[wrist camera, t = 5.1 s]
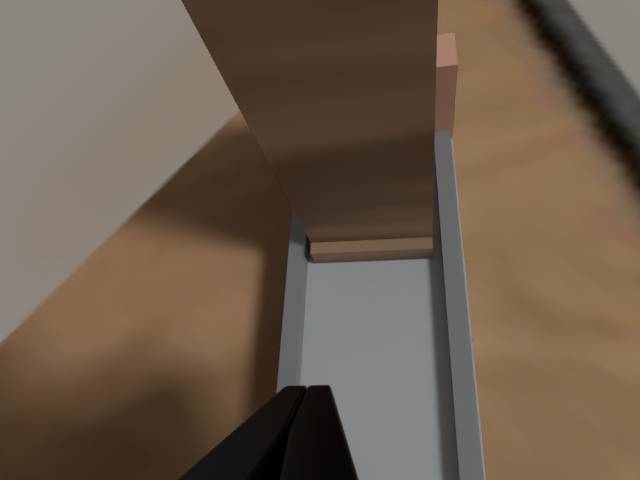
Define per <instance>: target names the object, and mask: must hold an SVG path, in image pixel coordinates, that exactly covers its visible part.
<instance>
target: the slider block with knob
mask: <svg viewBox="0 0 640 480" xmlns="http://www.w3.org/2000/svg"><path fill="white" fill-rule="evenodd" d="M182 2H183V4H184V6H185V8H186V10H187V12H188V13H189V15H190V17H191V19H192V21H193V23H194V25H195V27H196V28H197V30H198V32H199V34H200V36H201V38H202V39H203V42H204V43H205V45H206V47H207V49H208V51H209V53H210V54H211V57H212V58H213V60H214V62H215V64H216V66H217V68H218V70H219V72H220V73H221V75H222V77H223V79H224V81H225V83H226V85H227V87H228V88H229V90H230V92H231V94H232V96H233V98H234V100H235V102H236V103H237V105H238V107H239V109H240V111H241V113H242V115H243V116H244V118H245V120H246V122H247V124H248V126H249V128H250V130H251V131H252V133H253V135H254V137H255V139H256V141H257V143H258V145H259V146H260V148H261V150H262V152H263V154H264V156H265V158H266V160H267V161H268V163H269V165H270V167H271V169H272V171H273V173H274V175H275V176H276V178H277V180H278V182H279V184H280V186H281V188H282V190H283V191H284V193H285V195H286V197H287V199H288V201H289V203H290V205H291V206H292V208H293V210H294V212H295V214H296V216H297V218H298V220H299V221H300V223H301V225H302V227H303V229H304V231H305V233H306V235H307V236H308V238H309V240H310V242H311V251H310V254H311V256H312V258H313V259H314V261H315V263H327V262H353V261H379V260H404V259H430V258H433V240H432V230H433V187H434V144H435V101H436V58H437V15H438V0H182Z"/></svg>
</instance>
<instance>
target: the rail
mask: <svg viewBox="0 0 640 480" xmlns="http://www.w3.org/2000/svg"><path fill="white" fill-rule="evenodd" d="M457 70H458V61H457V52H456V44H455V35H454V33H447V34H440V35H437V58H436V101H435V144H434V187H433V230H432V240H433V258H430V259H404V260H379V261H353V262H327V263H315V261H314V259H313V258H312V256H311V254H310V251H311V242H310V240H309V238H308V236H307V235H306V233H305V231H304V229H303V227H302V225H301V223H300V221H299V220H298V218H297V216H296V214H295V212H294V210H293V208H292V216H291V228H290V239H289V251H288V263H287V275H286V286H285V298H284V310H283V322H282V334H281V345H280V357H279V369H278V381H277V392H276V394H277V393H278V392H279V391H280V390H282V389H283V388H284V387H285V386H296V385H305V386H307V387H309V386H311V385H329V386H330V387H331V389H332V392H333V395H334V399H335V402H336V405H337V409H338V412H339V415H340V419H341V422H342V425H343V429H344V432H345V435H346V439H347V442H348V445H349V449H350V452H351V455H352V459H353V462H354V466H355V469H356V472H357V476H358V479H359V480H486V477H485V467H484V457H483V446H482V436H481V426H480V416H479V406H478V396H477V386H476V375H475V365H474V355H473V345H472V335H471V325H470V314H469V304H468V294H467V284H466V274H465V264H464V253H463V243H462V233H461V223H460V213H459V203H458V193H457V182H456V172H455V162H454V152H453V142H452V134H453V121H454V108H455V96H456V83H457Z"/></svg>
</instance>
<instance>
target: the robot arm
mask: <svg viewBox="0 0 640 480" xmlns="http://www.w3.org/2000/svg"><path fill="white" fill-rule="evenodd" d="M178 480H359V479H358V476H357V472H356V469H355V466H354V462H353V459H352V455H351V452H350V449H349V445H348V442H347V439H346V435H345V432H344V429H343V425H342V422H341V419H340V415H339V412H338V409H337V405H336V402H335V399H334V395H333V392H332V389H331V387H330V386H329V385H311V386H309V387H307V386H305V385H296V386H285V387H284V388H283V389H282V390H280V391H279V392H278V393H277V394H276V395H275V396H273V397H272V398H271V399H270V400H269V401H268V402H267V403H265V404H264V405H263V406H262V407H261V408H260V409H259V410H257V411H256V412H255V413H254V414H253V415H252V416H250V417H249V418H248V419H247V420H246V421H245V422H244V423H242V424H241V425H240V426H239V427H238V428H237V429H236V430H234V431H233V432H232V433H231V434H230V435H229V436H227V437H226V438H225V439H224V440H223V441H222V442H221V443H219V444H218V445H217V446H216V447H215V448H214V449H213V450H211V451H210V452H209V453H208V454H207V455H206V456H204V457H203V458H202V459H201V460H200V461H199V462H198V463H196V464H195V465H194V466H193V467H192V468H191V469H190V470H188V471H187V472H186V473H185V474H184V475H183V476H182V477H180V478H179V479H178Z"/></svg>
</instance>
